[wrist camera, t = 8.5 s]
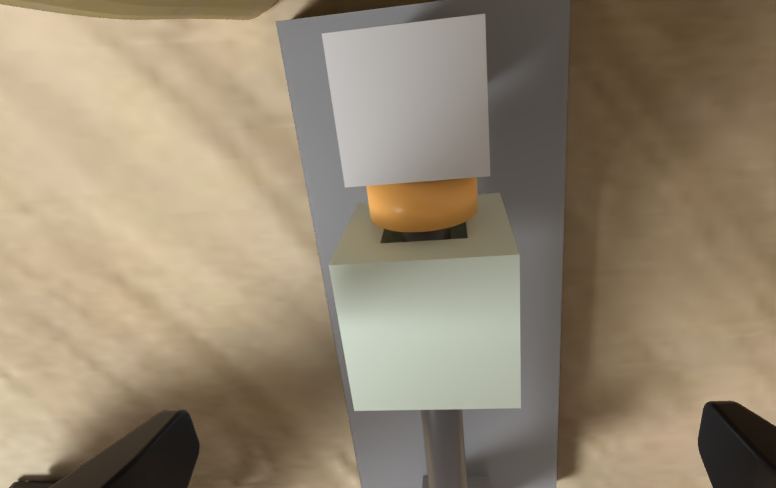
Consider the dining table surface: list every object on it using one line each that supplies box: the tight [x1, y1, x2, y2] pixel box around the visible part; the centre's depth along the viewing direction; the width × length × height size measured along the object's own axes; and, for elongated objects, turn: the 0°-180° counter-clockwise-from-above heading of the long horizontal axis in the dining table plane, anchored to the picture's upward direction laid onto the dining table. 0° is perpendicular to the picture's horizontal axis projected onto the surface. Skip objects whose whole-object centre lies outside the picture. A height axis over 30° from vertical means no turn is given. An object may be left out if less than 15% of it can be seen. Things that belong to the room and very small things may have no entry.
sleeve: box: [329, 193, 521, 411], centre depth 13 cm, size 4×4×4 cm
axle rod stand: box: [276, 0, 571, 488], centre depth 17 cm, size 22×9×9 cm, turn 6°
